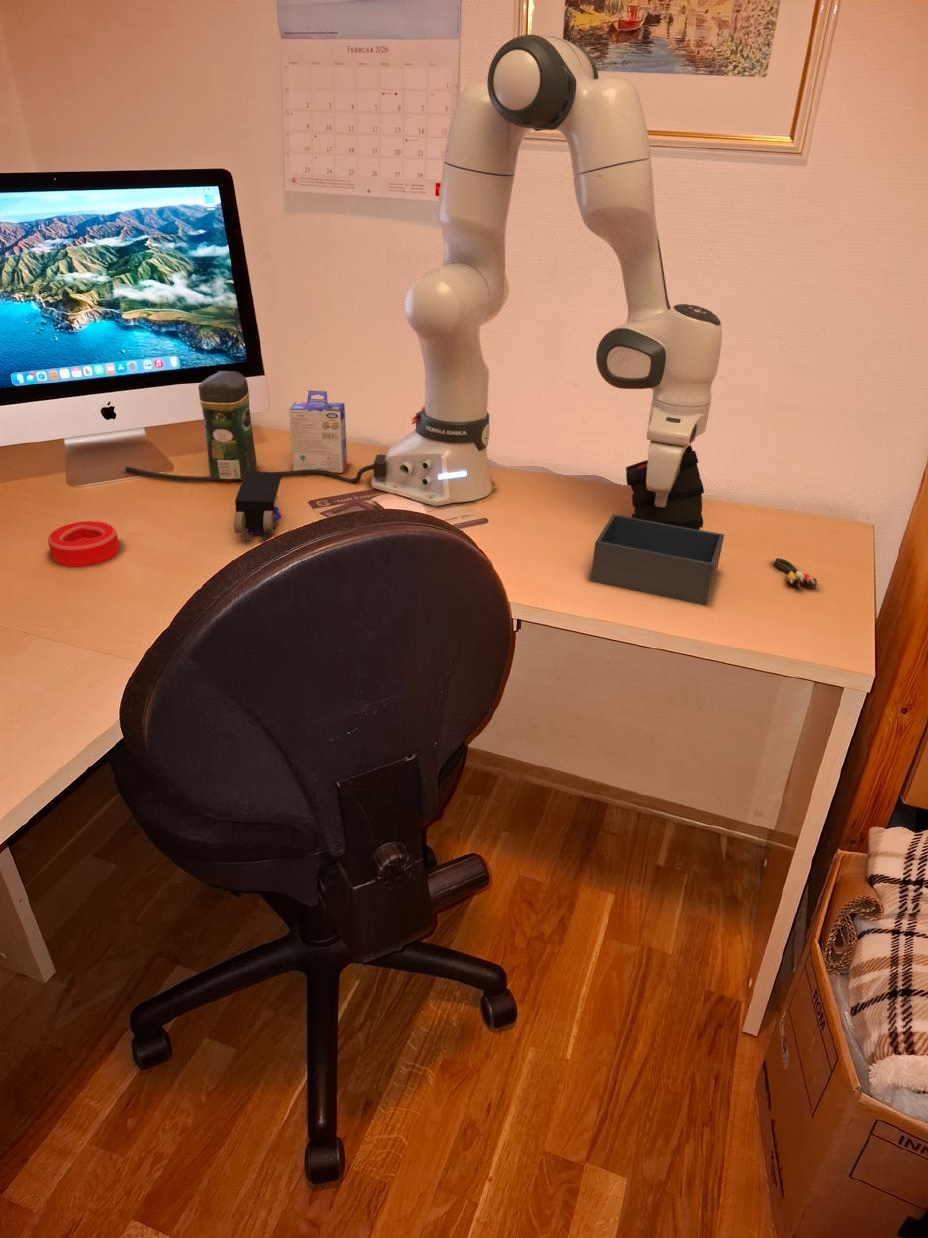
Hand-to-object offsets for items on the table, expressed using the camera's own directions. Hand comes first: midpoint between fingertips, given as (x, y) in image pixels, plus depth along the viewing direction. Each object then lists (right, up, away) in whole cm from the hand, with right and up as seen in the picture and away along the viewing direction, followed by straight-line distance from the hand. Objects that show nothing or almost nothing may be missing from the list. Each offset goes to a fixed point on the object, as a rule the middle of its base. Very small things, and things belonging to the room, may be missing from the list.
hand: (663, 499), depth 139 cm
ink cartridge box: (-60, +9, +25) cm, 66 cm away
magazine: (0, -5, +3) cm, 6 cm away
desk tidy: (-4, -13, -9) cm, 17 cm away
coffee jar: (-76, +8, +21) cm, 79 cm away
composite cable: (+18, -13, -8) cm, 24 cm away
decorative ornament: (-91, -10, -9) cm, 92 cm away
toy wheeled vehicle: (-66, -5, +1) cm, 66 cm away
